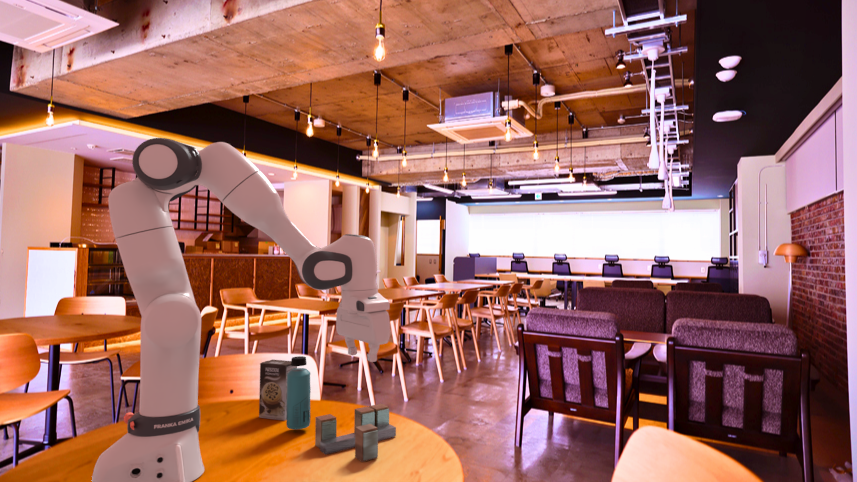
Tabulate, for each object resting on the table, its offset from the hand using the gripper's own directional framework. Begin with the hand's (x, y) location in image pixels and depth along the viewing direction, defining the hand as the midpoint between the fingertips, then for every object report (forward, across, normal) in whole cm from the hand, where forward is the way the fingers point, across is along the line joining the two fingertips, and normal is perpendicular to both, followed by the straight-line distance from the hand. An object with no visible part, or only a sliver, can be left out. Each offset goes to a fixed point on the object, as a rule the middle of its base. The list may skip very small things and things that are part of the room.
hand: (362, 357), depth 115 cm
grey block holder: (+23, -8, +1) cm, 24 cm away
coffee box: (+23, -40, -7) cm, 46 cm away
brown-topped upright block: (+23, +4, -2) cm, 23 cm away
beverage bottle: (+23, -24, -7) cm, 34 cm away
